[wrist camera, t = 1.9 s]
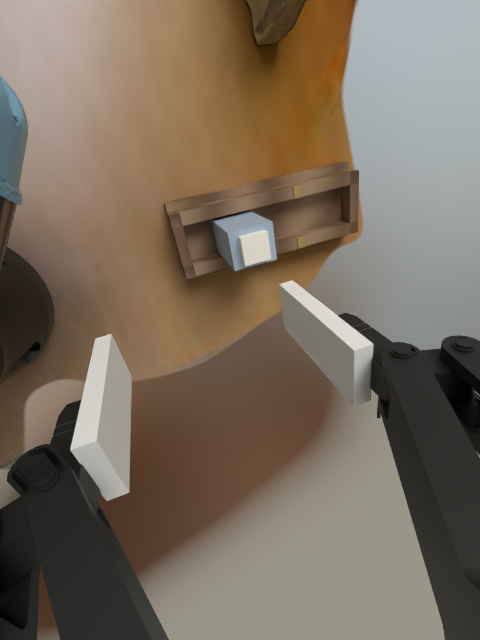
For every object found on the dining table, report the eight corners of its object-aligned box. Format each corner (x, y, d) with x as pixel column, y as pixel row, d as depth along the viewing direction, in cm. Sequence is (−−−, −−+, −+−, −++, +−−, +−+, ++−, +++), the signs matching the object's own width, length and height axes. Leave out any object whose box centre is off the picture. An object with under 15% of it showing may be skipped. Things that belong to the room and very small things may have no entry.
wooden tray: (185, 277, 35) (189, 286, 32) (164, 202, 30) (166, 206, 28) (343, 234, 38) (358, 239, 35) (343, 161, 34) (359, 161, 31)
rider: (217, 250, 33) (237, 274, 26) (210, 218, 31) (230, 235, 25) (252, 241, 34) (280, 262, 27) (247, 209, 32) (276, 223, 25)
